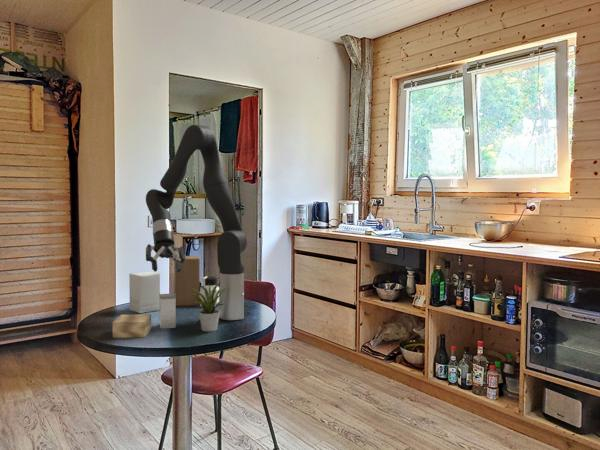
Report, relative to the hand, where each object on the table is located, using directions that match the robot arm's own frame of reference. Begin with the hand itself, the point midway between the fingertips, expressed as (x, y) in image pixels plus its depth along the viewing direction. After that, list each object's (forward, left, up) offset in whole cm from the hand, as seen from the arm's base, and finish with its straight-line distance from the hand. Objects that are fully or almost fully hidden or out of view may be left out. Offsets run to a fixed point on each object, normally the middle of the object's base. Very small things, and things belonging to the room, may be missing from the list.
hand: (167, 271), depth 173 cm
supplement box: (+11, -15, -18) cm, 27 cm away
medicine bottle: (-14, -24, -18) cm, 33 cm away
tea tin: (-2, +10, -18) cm, 21 cm away
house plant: (-18, +14, -18) cm, 29 cm away
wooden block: (-4, -27, -18) cm, 33 cm away
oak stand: (+8, +18, -18) cm, 27 cm away
